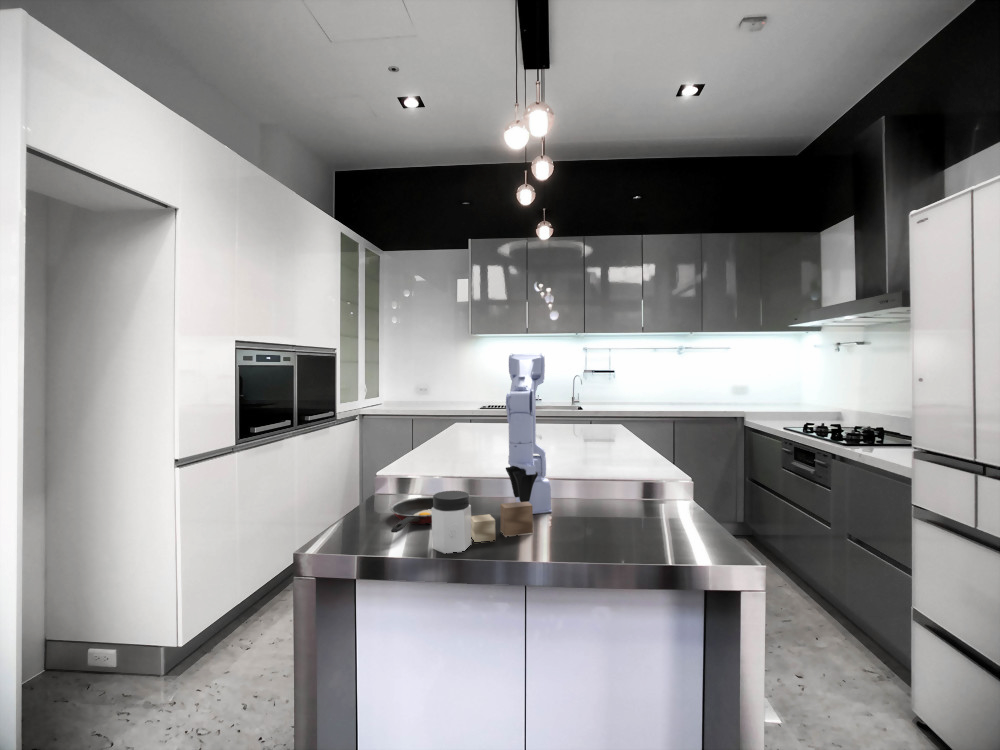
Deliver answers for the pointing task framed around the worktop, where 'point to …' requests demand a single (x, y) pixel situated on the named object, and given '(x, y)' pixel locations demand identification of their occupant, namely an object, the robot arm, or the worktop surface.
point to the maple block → (482, 528)
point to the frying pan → (412, 512)
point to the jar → (451, 521)
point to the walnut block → (516, 518)
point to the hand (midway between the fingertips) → (521, 499)
